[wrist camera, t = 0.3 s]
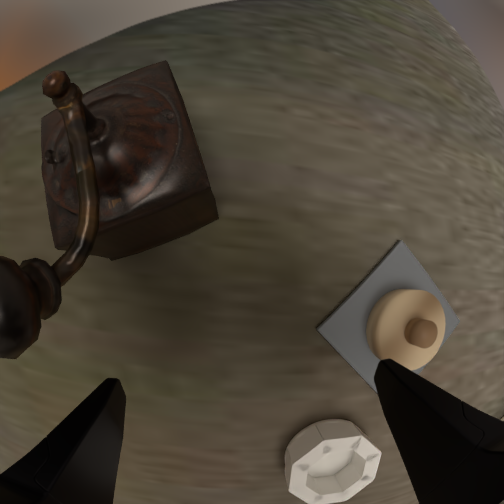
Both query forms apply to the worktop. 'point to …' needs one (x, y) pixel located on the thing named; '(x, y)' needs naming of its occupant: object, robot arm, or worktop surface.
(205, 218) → the manual coffee grinder
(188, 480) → the worktop surface
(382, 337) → the lid
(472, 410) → the robot arm
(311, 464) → the bowl
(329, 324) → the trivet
